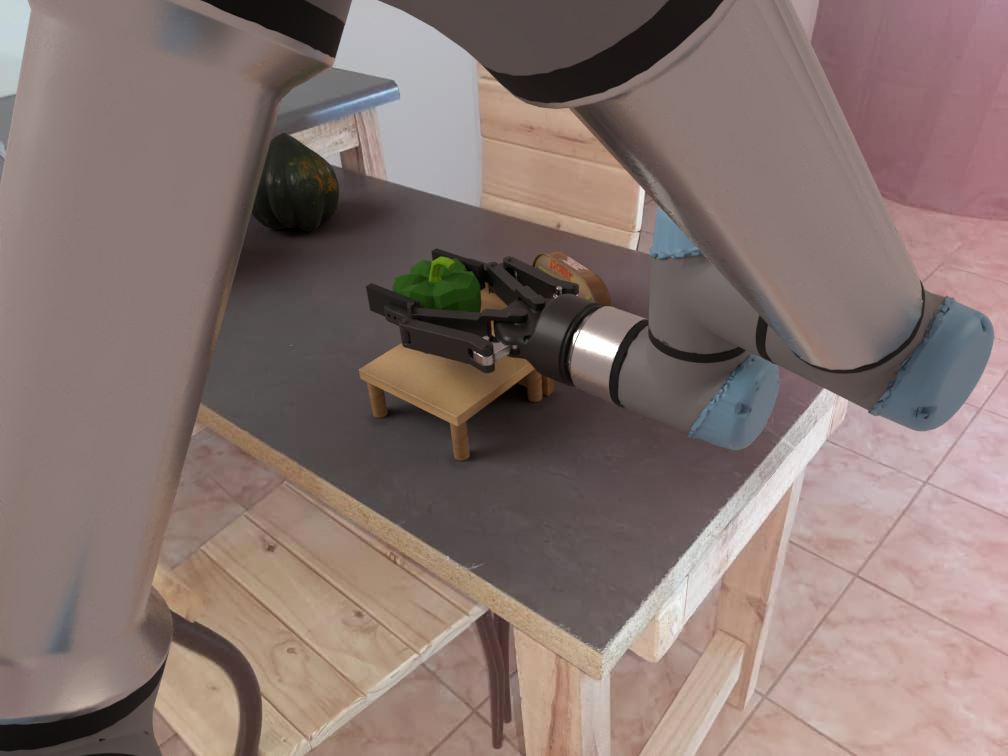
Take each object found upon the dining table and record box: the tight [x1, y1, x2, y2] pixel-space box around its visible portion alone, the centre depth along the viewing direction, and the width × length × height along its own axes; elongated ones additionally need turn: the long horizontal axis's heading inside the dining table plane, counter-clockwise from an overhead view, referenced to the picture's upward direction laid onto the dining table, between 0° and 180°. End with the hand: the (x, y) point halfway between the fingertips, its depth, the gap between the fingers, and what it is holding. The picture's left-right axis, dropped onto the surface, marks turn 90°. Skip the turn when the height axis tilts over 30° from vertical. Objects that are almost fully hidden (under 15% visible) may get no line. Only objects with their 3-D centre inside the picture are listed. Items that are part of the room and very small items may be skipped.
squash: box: [251, 131, 340, 232], centre depth 126 cm, size 14×15×15 cm
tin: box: [531, 250, 612, 307], centre depth 95 cm, size 15×3×8 cm, turn 28°
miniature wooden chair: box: [358, 282, 555, 462], centre depth 82 cm, size 15×14×12 cm
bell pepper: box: [391, 257, 481, 354], centre depth 76 cm, size 8×8×10 cm
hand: (404, 278), depth 78 cm, fingers closed on bell pepper, 8 cm apart
